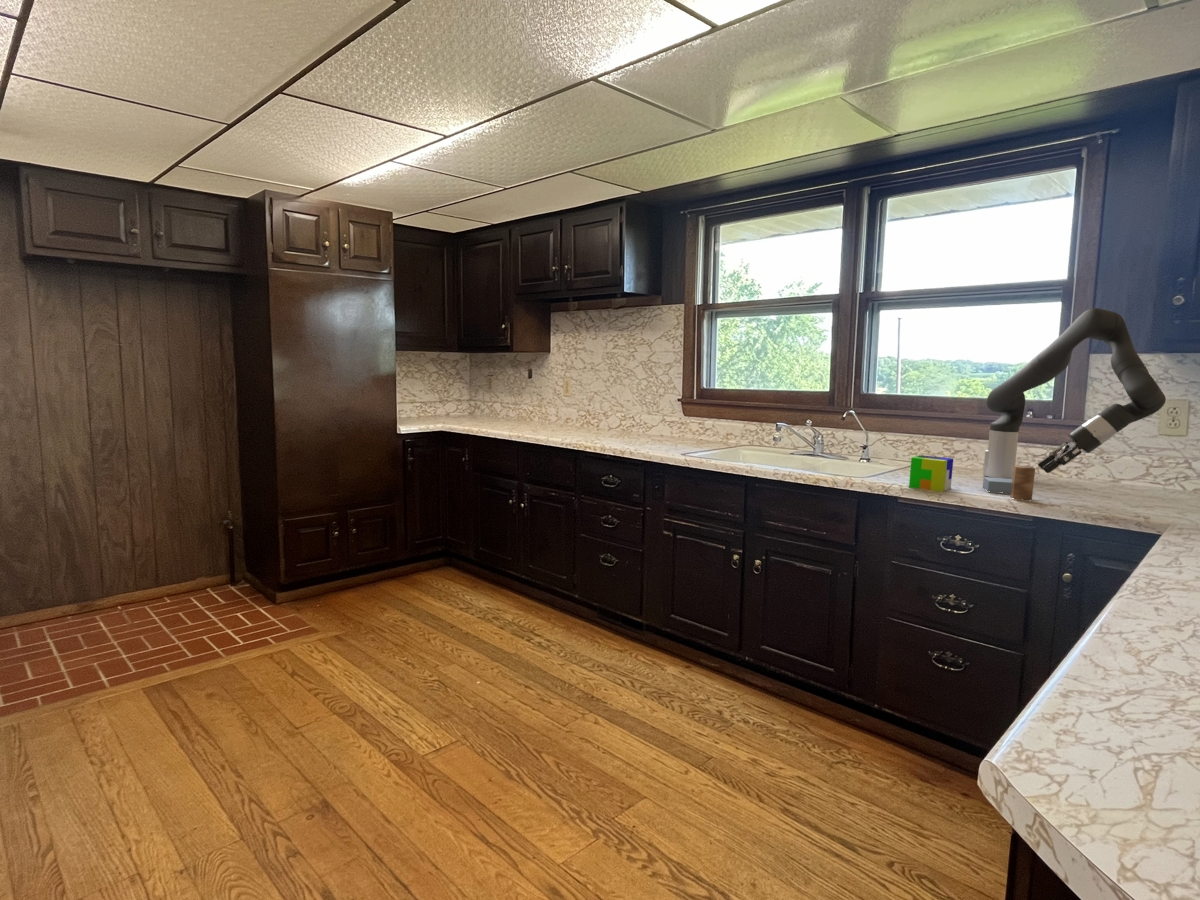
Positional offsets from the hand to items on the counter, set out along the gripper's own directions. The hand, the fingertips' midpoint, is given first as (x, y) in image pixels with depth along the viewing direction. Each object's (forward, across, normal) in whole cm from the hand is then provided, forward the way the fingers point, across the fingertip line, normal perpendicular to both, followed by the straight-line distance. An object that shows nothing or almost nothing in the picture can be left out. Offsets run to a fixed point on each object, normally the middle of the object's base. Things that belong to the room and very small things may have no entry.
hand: (1042, 469), depth 204 cm
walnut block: (+10, 0, +4) cm, 11 cm away
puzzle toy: (+28, -6, -14) cm, 32 cm away
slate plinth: (+13, -13, +1) cm, 19 cm away
